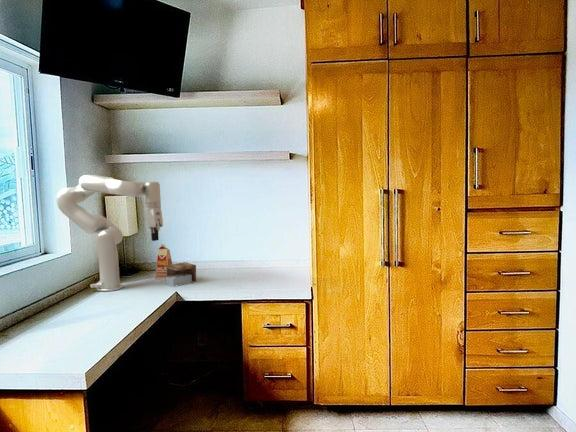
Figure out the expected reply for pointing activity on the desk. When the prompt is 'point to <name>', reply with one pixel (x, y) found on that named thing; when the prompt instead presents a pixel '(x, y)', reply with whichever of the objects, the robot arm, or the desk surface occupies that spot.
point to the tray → (178, 279)
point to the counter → (181, 269)
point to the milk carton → (162, 262)
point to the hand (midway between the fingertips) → (155, 240)
